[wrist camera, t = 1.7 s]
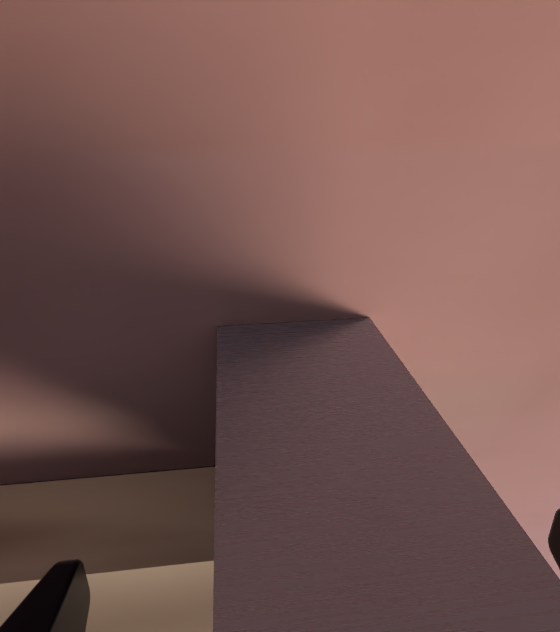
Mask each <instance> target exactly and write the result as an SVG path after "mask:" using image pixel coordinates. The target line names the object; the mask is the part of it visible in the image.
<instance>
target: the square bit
mask: <svg viewBox="0 0 560 632" xmlns="http://www.w3.org/2000/svg"><path fill="white" fill-rule="evenodd" d="M213 632H560V579H559V578H558V577H557V575H556V574H555V572H554V571H553V570H552V568H551V567H550V566H549V564H548V563H547V561H546V560H545V559H544V557H543V556H542V554H541V553H540V552H539V550H538V549H537V548H536V546H535V545H534V543H533V542H532V541H531V539H530V538H529V537H528V535H527V534H526V532H525V531H524V530H523V528H522V527H521V526H520V524H519V523H518V521H517V520H516V519H515V517H514V516H513V515H512V513H511V512H510V510H509V509H508V508H507V506H506V505H505V504H504V502H503V501H502V499H501V498H500V497H499V495H498V494H497V493H496V491H495V490H494V488H493V487H492V486H491V484H490V483H489V481H488V480H487V479H486V477H485V476H484V475H483V473H482V472H481V470H480V469H479V468H478V466H477V465H476V464H475V462H474V461H473V459H472V458H471V457H470V455H469V454H468V453H467V451H466V450H465V448H464V447H463V446H462V444H461V443H460V442H459V440H458V439H457V437H456V436H455V435H454V433H453V432H452V431H451V429H450V428H449V426H448V425H447V424H446V422H445V421H444V420H443V418H442V417H441V415H440V414H439V413H438V411H437V410H436V408H435V407H434V406H433V404H432V403H431V402H430V400H429V399H428V397H427V396H426V395H425V393H424V392H423V391H422V389H421V388H420V386H419V385H418V384H417V382H416V381H415V380H414V378H413V377H412V375H411V374H410V373H409V371H408V370H407V369H406V367H405V366H404V364H403V363H402V362H401V360H400V359H399V358H398V356H397V355H396V353H395V352H394V351H393V349H392V348H391V347H390V345H389V344H388V342H387V341H386V340H385V338H384V337H383V336H382V334H381V333H380V331H379V330H378V329H377V327H376V326H375V324H374V323H373V322H372V320H371V319H370V318H352V319H334V320H317V321H300V322H283V323H266V324H249V325H232V326H217V384H216V451H215V519H214V586H213Z"/></svg>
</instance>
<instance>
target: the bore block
mask: <svg viewBox="0 0 560 632" xmlns="http://www.w3.org/2000/svg"><path fill="white" fill-rule="evenodd" d="M214 519H215V467H206V468H194V469H183V470H172V471H161V472H149V473H138V474H127V475H115V476H104V477H93V478H82V479H70V480H59V481H48V482H37V483H25V484H14V485H3V486H0V626H1V625H2V624H3V623H4V622H5V620H6V619H7V618H8V617H9V616H10V615H11V613H12V612H13V611H14V610H15V609H16V608H17V607H18V605H19V604H20V603H21V602H22V601H23V600H24V598H25V597H26V596H27V595H28V594H29V593H30V591H31V590H32V589H33V588H34V587H35V586H36V584H37V583H38V582H39V581H40V580H41V579H42V577H43V576H44V575H45V574H46V573H47V572H48V571H49V569H50V568H51V567H52V566H53V565H54V564H55V563H57V562H58V561H63V560H73V559H80V560H81V561H82V562H83V565H84V569H85V573H86V576H87V580H88V584H89V588H90V606H89V613H88V619H87V625H86V631H85V632H213V586H214Z"/></svg>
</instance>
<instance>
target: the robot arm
mask: <svg viewBox="0 0 560 632" xmlns="http://www.w3.org/2000/svg"><path fill="white" fill-rule="evenodd" d="M548 543H549V548H550V551H551V553H552V555H553V557H554V559H555V561H556V563H557V565H558V567H559V569H560V509H558V510H557V511H556V513H555V516H554V520H553V523H552V526H551V530H550V533H549V537H548ZM89 606H90V588H89V584H88V580H87V576H86V573H85V569H84V565H83V562H82V561H81V560H80V559H73V560H63V561H58V562H57V563H55V564H54V565H53V566H52V567H51V568H50V569H49V571H48V572H47V573H46V574H45V575H44V576H43V577H42V579H41V580H40V581H39V582H38V583H37V584H36V586H35V587H34V588H33V589H32V590H31V591H30V593H29V594H28V595H27V596H26V597H25V598H24V600H23V601H22V602H21V603H20V604H19V605H18V607H17V608H16V609H15V610H14V611H13V612H12V613H11V615H10V616H9V617H8V618H7V619H6V620H5V622H4V623H3V624H2V625H1V626H0V632H85V631H86V625H87V619H88V613H89Z"/></svg>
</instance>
